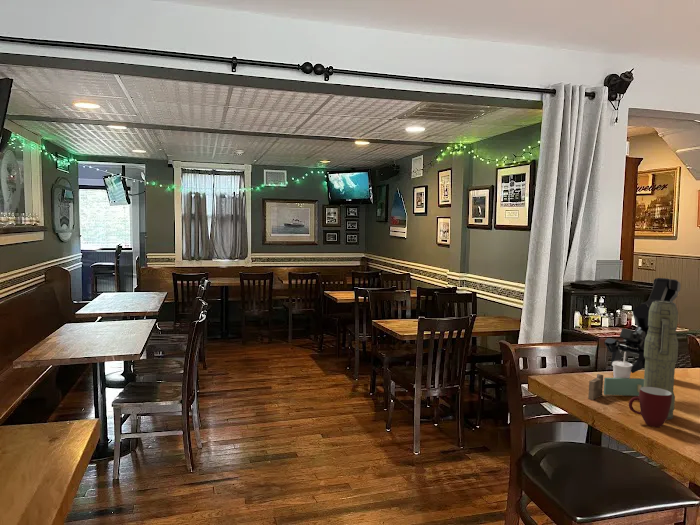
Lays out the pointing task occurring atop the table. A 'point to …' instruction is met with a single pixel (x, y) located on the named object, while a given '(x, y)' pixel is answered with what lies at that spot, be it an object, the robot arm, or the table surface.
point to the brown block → (596, 387)
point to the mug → (653, 405)
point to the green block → (623, 386)
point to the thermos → (661, 348)
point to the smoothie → (622, 368)
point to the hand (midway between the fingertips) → (621, 369)
